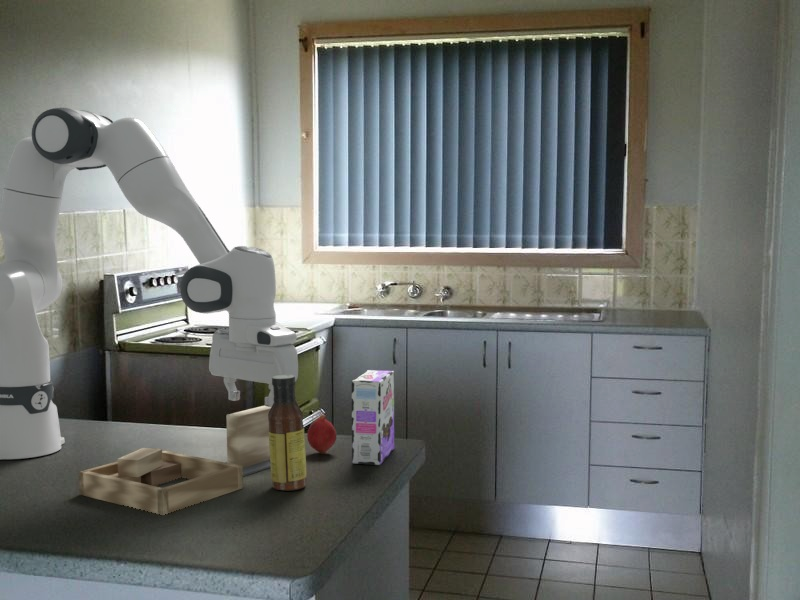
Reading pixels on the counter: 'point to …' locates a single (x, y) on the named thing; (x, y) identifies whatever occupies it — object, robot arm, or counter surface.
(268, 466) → the felt pad
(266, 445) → the pale wooden block
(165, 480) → the offcut walnut
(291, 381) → the sauce bottle
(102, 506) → the counter surface
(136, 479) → the offcut oak
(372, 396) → the candy box
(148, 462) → the offcut beech
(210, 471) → the wooden tray
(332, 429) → the onion
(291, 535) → the counter surface
